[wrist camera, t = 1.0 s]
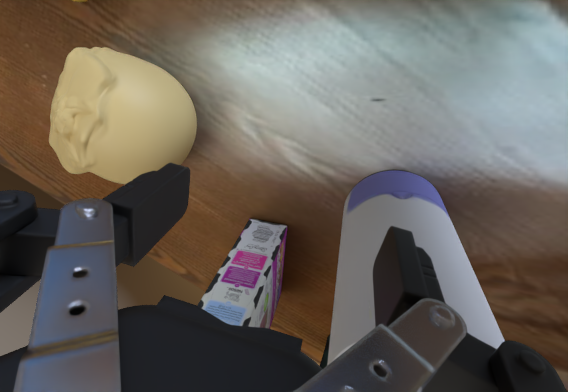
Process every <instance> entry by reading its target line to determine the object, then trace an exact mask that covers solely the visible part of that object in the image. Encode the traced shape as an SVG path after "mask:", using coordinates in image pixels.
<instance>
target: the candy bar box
mask: <svg viewBox="0 0 568 392" xmlns="http://www.w3.org/2000/svg"><path fill="white" fill-rule="evenodd" d="M286 235H287V226H286V225H282V224H277V223H271V222H266V221H262V220H257V219H249V221H248V222H247V224H246V226H245V228H244V229H243V231H242V233H241V234H240V236H239V238H238V239H237V241H236V243H235V244H234V246H233V248H232V249H231V251H230V252H229V254H228V256H227V258H226V259H225V261H224V263H223V265H222V266H221V268H220V269H219V271H218V272H217V274H216V276H215V277H214V279H213V280H212V282H211V284H210V285H209V287H208V289H207V290H206V292H205V294H204V295H203V297H202V299H201V301H200V302H199V304H198V306H199V307H200V308H202V309H204V310H205V311H207V312H209V313H210V314H212V315H213V316H215V317H217V318H218V319H220V320H222V321H223V322H225V323H227V324H230V325H238V326H249V327H259V328H268V329H270V326H271V323H272V320H273V317H274V314H275V310H276V307H277V304H278V301H279V298H280V295H281V288H282V278H283V266H284V256H285V246H286Z"/></svg>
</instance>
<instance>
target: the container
mask: <svg viewBox="0 0 568 392" xmlns="http://www.w3.org/2000/svg"><path fill="white" fill-rule="evenodd" d="M390 226H395V227H398V228H402V229H405V230H409V231H412V233H413V237H414V241H415V245H416V246H417V247H421V248H423V249H424V250H425V252H426V253H427V254H428V255H429V256H430V258H431V260H432V263H433V266H434V270H435V272H436V275H437V279H438V281H439V284H440V288H441V291H442V294H443V297H444V300H445V303H446V304H447V305H449V306H450V307H452V308H453V309H454V310H455V311H456V312H457V313H459V315H460V316H461V317H462V318H463V320H464V321H465V323H466V326H467V333H469V334H470V335H472V336H474V337H475V338H477V339H479V340H481V341H483V342H485V343H487V344H488V345H490V346H492V347H494V348H496V349H497V348H498V347H499V346H500V345H501V343H502V342H504V341H505V340H504V338H503V336H502V333H501V331H500V329H499V327H498V325H497V322H496V320H495V318H494V316H493V313H492V311H491V309H490V307H489V304H488V302H487V300H486V298H485V295H484V293H483V291H482V289H481V286H480V284H479V282H478V280H477V278H476V275H475V273H474V271H473V269H472V266H471V264H470V262H469V260H468V257H467V255H466V253H465V251H464V248H463V246H462V244H461V242H460V239H459V237H458V235H457V233H456V231H455V228H454V226H453V224H452V222H451V219H450V217H449V215H448V213H447V210H446V208H445V206H444V204H443V201H442V199H441V197H440V195H439V193H438V191H437V190H436V189H435V187H434V186H433V185H432V184H431V183H430V182H428V181H427V180H426V179H424V178H422V177H421V176H418V175H416V174H413V173H410V172H406V171H398V170H392V171H383V172H379V173H376V174H373V175H371V176H368V177H367V178H365V179H363V180H362V181H360V182H359V183H358V184H357V185H356V186H355V187H354V188H353V189H352V190H351V192H350V193H349V195H348V197H347V199H346V201H345V205H344V212H343V221H342V231H341V240H340V250H339V259H338V269H337V278H336V287H335V297H334V306H333V316H332V325H331V335H330V344H329V353H328V363H327V365H329V364H330V363H331V362H332V361H334V360H335V359H336V358H337V357H339V356H340V355H341V354H343V353H344V352H345V351H346V350H348V349H349V348H350V347H351V346H353V345H354V344H355V343H356V342H358V341H359V340H360V339H361V338H363V337H364V336H365V335H367V334H368V333H369V332H370V331H372V330H373V329H374V328H375V327H376V326H375V309H374V291H373V266H374V262H375V259H376V256H377V254H378V252H379V249H380V247H381V245H382V243H383V240H384V238H385V236H386V233H387V231H388V229H389V228H390Z"/></svg>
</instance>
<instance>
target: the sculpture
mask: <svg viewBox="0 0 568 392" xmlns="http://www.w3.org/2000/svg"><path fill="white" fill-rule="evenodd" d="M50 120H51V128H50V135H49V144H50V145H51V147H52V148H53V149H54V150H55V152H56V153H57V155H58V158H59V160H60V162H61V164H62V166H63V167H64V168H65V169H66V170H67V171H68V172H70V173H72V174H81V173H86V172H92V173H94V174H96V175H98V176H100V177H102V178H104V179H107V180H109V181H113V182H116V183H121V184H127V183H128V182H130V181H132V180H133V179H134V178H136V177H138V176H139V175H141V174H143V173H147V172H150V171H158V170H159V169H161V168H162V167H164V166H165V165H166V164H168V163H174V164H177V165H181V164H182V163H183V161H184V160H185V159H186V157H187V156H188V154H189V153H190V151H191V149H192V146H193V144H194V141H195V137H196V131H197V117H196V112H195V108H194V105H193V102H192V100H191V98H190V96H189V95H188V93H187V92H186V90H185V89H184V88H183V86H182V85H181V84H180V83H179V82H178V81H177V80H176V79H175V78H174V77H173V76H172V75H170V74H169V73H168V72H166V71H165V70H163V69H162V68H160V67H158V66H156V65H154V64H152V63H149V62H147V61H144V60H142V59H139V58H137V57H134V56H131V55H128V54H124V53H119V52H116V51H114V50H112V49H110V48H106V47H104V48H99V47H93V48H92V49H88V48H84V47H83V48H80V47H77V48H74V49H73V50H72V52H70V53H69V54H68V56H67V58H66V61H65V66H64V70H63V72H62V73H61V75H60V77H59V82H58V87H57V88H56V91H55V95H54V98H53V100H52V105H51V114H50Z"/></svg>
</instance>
